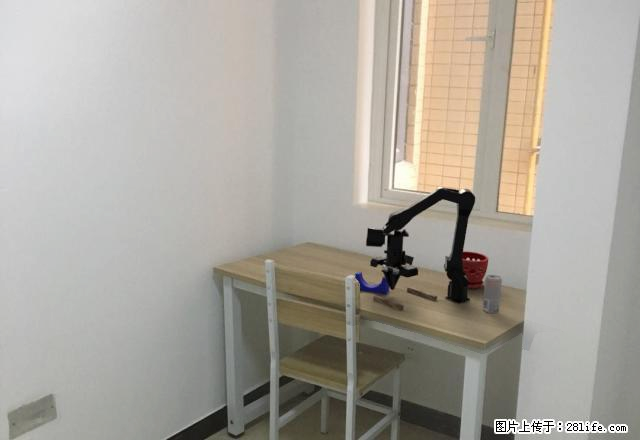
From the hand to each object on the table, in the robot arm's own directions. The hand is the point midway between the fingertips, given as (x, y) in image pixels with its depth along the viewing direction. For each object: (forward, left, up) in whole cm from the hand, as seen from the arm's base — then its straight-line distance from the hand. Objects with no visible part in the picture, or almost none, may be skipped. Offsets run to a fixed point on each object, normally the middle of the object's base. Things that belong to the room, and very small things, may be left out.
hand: (392, 289), depth 215 cm
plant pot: (-9, -33, -2) cm, 34 cm away
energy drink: (-31, -16, -2) cm, 35 cm away
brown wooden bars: (-6, 0, -2) cm, 7 cm away
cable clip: (+9, +2, -2) cm, 9 cm away
